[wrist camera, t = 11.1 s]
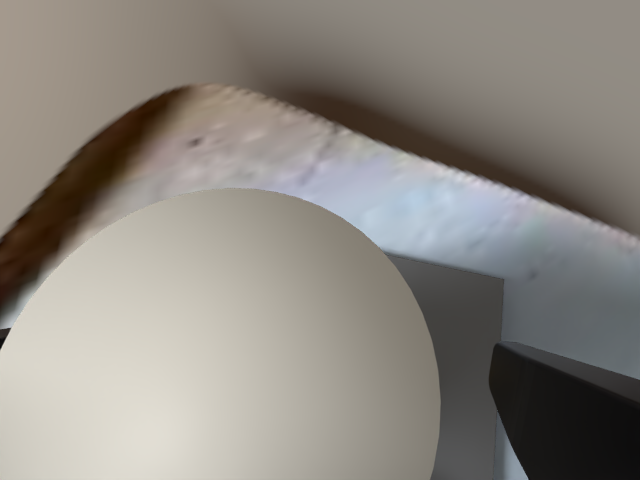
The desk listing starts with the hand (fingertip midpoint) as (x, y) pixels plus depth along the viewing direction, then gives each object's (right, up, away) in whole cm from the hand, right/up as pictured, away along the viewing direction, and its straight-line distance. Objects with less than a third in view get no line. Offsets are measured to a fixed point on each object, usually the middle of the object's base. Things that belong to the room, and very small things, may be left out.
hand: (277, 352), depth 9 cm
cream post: (0, -5, +7) cm, 8 cm away
